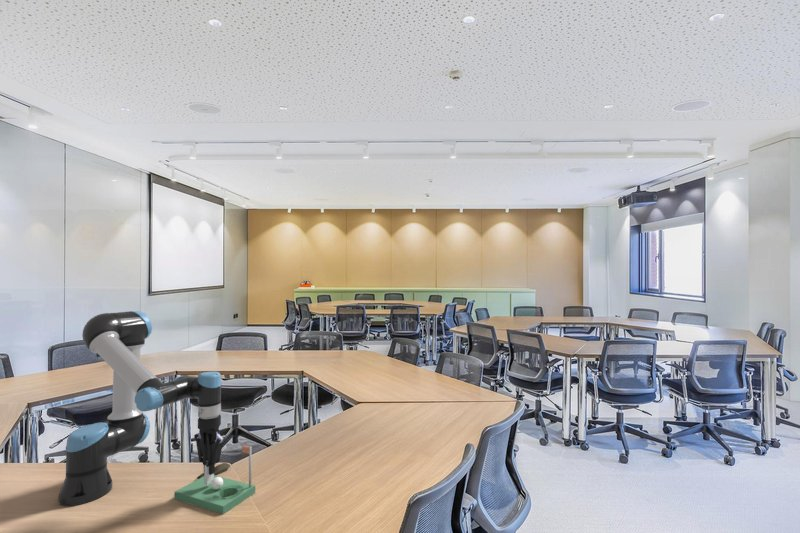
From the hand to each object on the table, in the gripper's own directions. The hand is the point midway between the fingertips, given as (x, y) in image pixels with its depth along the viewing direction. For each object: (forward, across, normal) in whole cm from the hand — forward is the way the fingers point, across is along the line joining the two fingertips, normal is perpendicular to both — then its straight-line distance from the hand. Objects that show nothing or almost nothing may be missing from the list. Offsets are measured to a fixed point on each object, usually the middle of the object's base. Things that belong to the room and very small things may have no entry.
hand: (209, 482), depth 138 cm
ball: (0, +4, 0) cm, 4 cm away
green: (+4, +3, 0) cm, 5 cm away
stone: (+5, -12, +12) cm, 17 cm away
